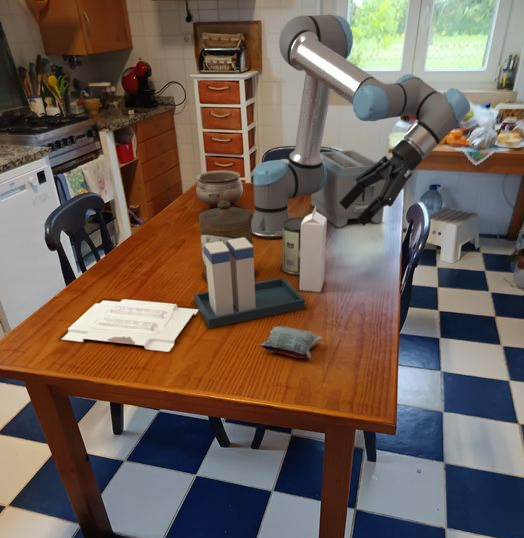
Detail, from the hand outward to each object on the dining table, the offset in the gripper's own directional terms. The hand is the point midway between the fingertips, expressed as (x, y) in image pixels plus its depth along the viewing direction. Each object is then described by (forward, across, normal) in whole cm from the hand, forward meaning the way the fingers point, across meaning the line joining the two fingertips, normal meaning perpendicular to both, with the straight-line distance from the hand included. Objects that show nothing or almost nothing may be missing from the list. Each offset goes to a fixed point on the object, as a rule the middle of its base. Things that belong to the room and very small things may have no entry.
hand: (350, 213), depth 127 cm
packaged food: (+31, -30, +2) cm, 43 cm away
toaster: (0, +57, -28) cm, 64 cm away
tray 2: (+56, -9, +28) cm, 63 cm away
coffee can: (+21, +13, -7) cm, 26 cm away
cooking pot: (+32, +82, +4) cm, 88 cm away
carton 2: (+35, -7, +8) cm, 37 cm away
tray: (+35, -7, +6) cm, 36 cm away
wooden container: (+36, +14, +8) cm, 40 cm away
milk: (+21, 0, -7) cm, 22 cm away
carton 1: (+39, -8, +12) cm, 42 cm away
